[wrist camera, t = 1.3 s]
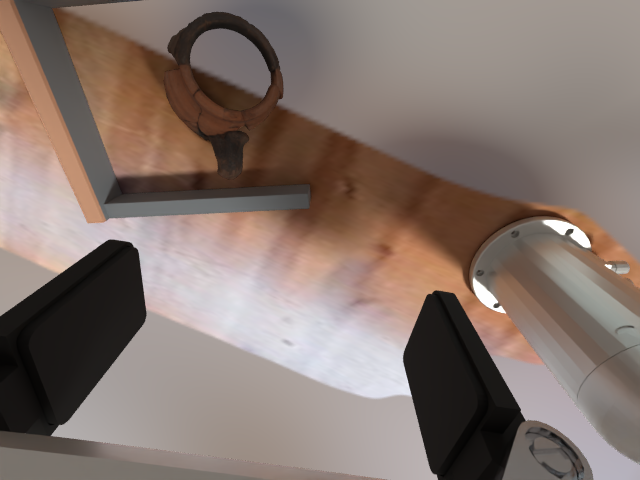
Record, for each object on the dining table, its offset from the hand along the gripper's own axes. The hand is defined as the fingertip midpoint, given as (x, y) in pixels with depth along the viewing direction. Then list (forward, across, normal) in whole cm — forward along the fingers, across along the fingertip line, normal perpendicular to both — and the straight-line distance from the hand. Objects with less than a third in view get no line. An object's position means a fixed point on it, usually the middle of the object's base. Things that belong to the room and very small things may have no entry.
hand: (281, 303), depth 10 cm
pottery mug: (+23, +8, -4) cm, 25 cm away
